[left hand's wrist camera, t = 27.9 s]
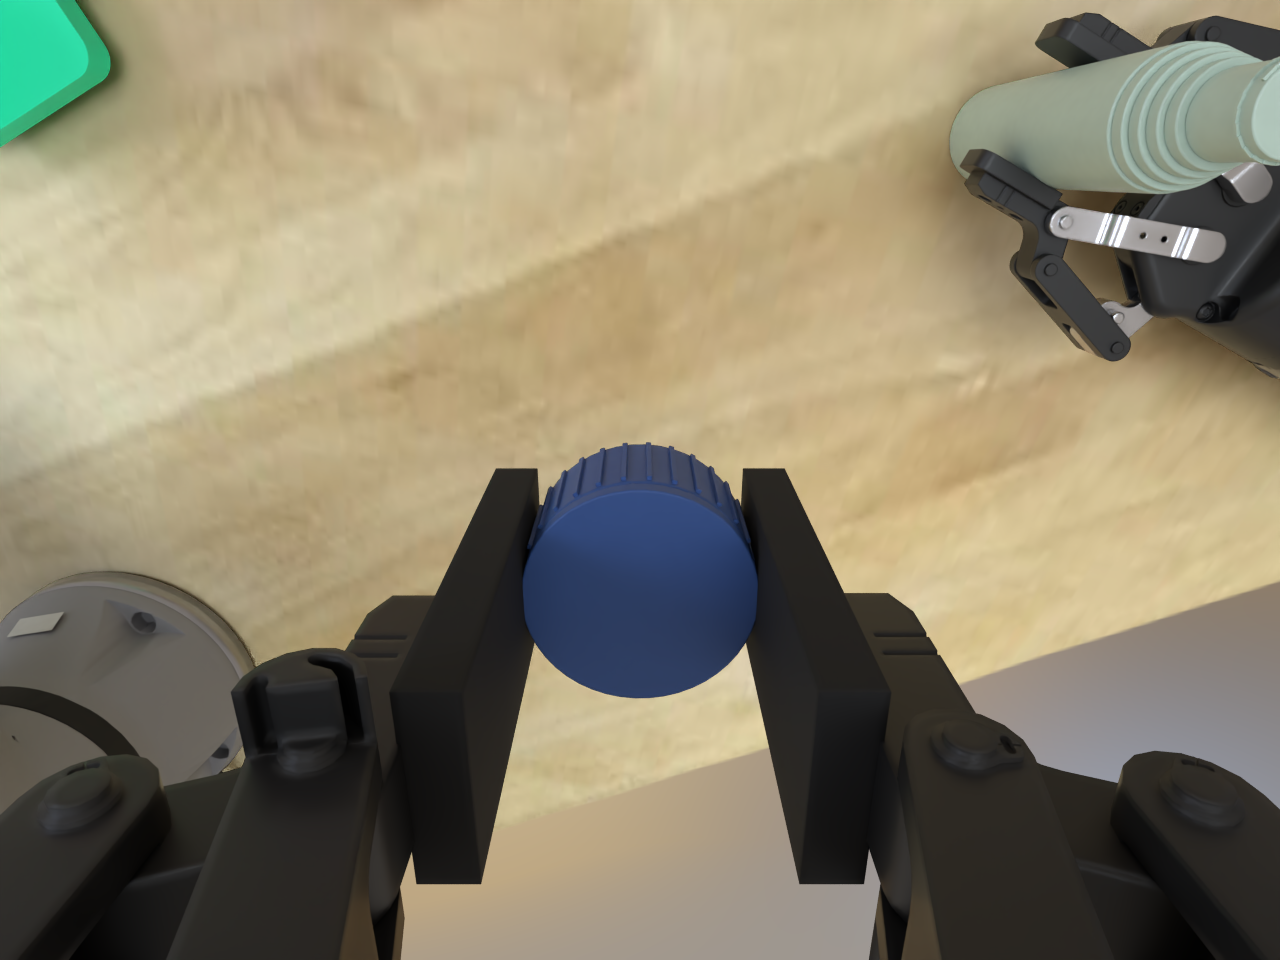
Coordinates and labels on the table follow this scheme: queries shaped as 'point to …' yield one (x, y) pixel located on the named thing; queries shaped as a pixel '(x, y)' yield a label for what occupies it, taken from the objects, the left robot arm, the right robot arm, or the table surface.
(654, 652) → the cap
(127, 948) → the left robot arm
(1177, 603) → the table surface
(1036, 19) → the table surface
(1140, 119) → the bottle
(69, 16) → the camera mount
